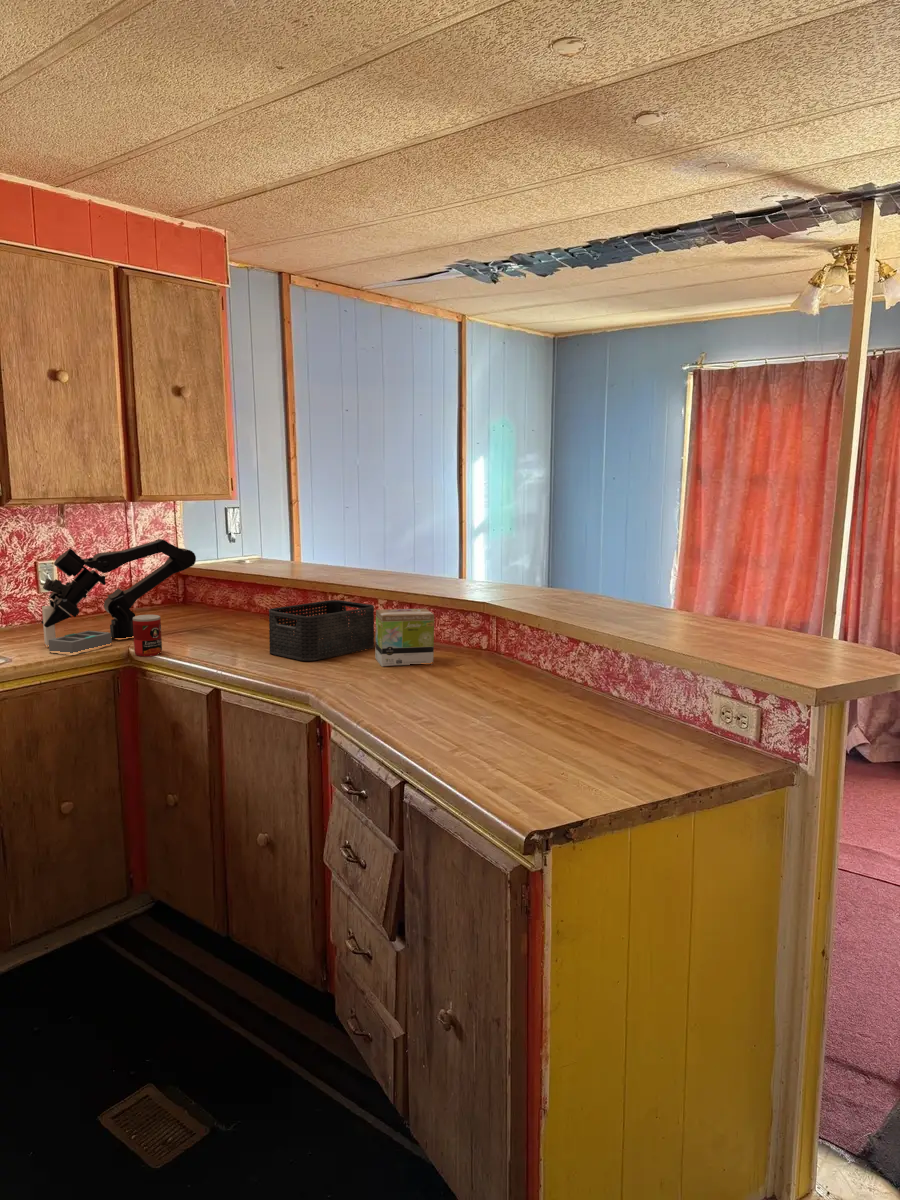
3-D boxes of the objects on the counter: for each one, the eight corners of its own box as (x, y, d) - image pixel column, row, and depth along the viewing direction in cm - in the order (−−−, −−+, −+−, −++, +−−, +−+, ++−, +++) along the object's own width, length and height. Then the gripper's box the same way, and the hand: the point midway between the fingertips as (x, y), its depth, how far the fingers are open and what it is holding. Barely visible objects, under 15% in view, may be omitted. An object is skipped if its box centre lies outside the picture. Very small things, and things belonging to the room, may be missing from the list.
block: (53, 644, 256) (50, 605, 254) (56, 647, 252) (53, 608, 250) (44, 644, 255) (41, 606, 253) (47, 647, 251) (44, 608, 249)
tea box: (381, 667, 229) (381, 615, 227) (375, 659, 239) (374, 608, 237) (434, 664, 233) (434, 612, 231) (425, 656, 243) (426, 606, 241)
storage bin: (335, 639, 267) (335, 598, 265) (379, 647, 255) (379, 604, 253) (264, 654, 246) (263, 609, 243) (308, 664, 234) (307, 617, 231)
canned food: (144, 658, 239) (142, 620, 237) (128, 654, 244) (126, 617, 242) (167, 653, 245) (166, 616, 243) (152, 649, 250) (150, 613, 248)
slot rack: (89, 643, 258) (88, 629, 257) (111, 645, 255) (111, 632, 254) (49, 653, 244) (48, 639, 243) (72, 655, 241) (71, 641, 240)
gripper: (54, 565, 259) (17, 603, 255) (64, 572, 244) (25, 612, 240) (83, 588, 265) (47, 626, 261) (94, 596, 250) (57, 636, 245)
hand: (43, 625), depth 252 cm, fingers closed on block, 5 cm apart
